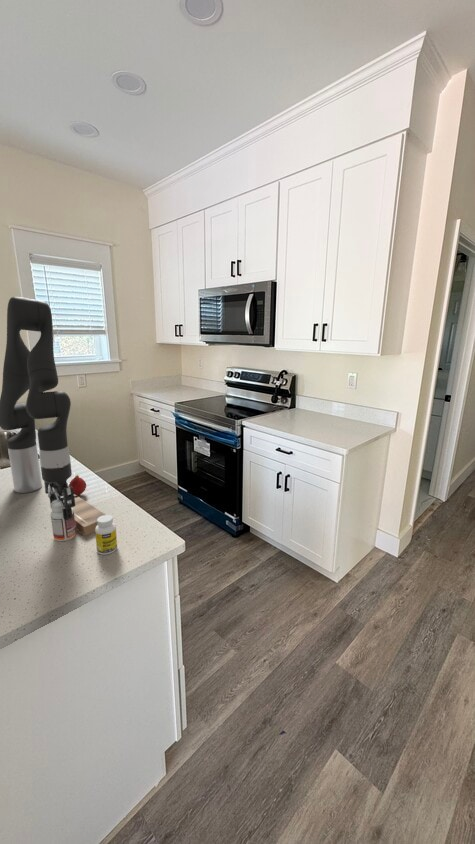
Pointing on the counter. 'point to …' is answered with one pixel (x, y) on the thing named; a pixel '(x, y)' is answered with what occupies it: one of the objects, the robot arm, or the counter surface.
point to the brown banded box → (85, 516)
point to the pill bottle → (62, 523)
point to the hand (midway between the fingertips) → (61, 513)
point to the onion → (78, 485)
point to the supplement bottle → (105, 535)
